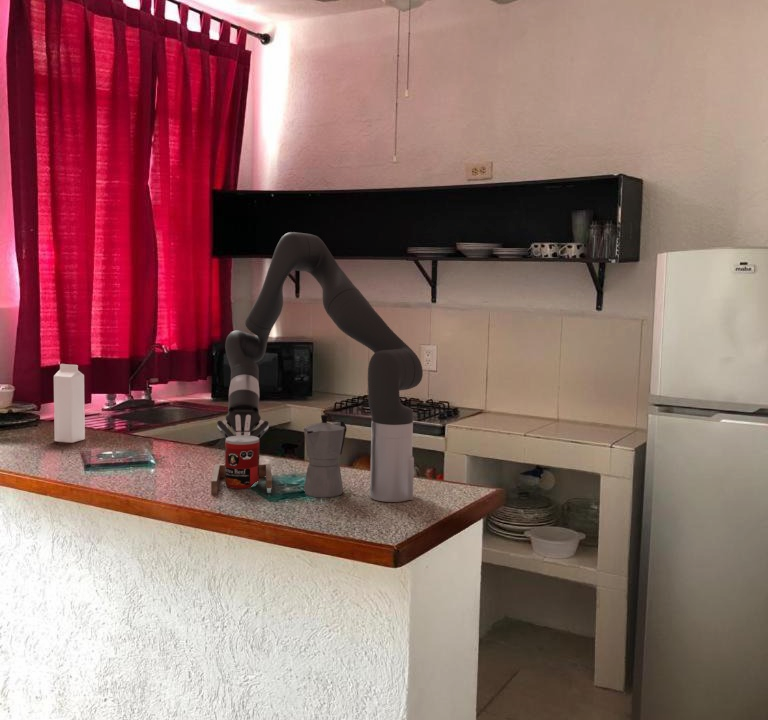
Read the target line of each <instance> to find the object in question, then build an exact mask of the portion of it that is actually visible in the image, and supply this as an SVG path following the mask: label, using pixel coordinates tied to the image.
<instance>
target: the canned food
mask: <svg viewBox="0 0 768 720" xmlns="http://www.w3.org/2000/svg"><path fill="white" fill-rule="evenodd" d="M224 442H225V444H224V452H225V454H224V455H225V456H224V464H225V477H224V483H225V486H226V487H228V488H230V489H237V490H241V489H251V488H250V487H251V486H252V485H253V484H254V483H255V482H257V481H259V482H260V477H259V464H260V438H258V437H255V436H251V435H250V436H248V435H244V434H241V435H239V436H236V435H235V436H231V437H228V438H225V441H224Z"/></svg>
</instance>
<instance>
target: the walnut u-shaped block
mask: <svg viewBox="0 0 768 720" xmlns="http://www.w3.org/2000/svg"><path fill="white" fill-rule="evenodd" d="M264 476H266V477H264ZM220 478H225V463H215V464H214V467H213V471H212V476H211V481H210V488H211V489H210V491H211V492H210V494H211V495H217V494H218V489H219V482H220ZM259 478H265V489H266V488H272V489H273V477H272V465H271V463H259Z"/></svg>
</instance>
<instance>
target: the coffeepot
mask: <svg viewBox="0 0 768 720" xmlns="http://www.w3.org/2000/svg"><path fill="white" fill-rule="evenodd" d="M320 417H321V418H320V419H321V422H317V423H313V424H309V425H307V424H306V426H305V427H303V433H304V440H305V446H306V448H305V449H306V455H307V457H308V458H309V459H308V465H307V469H306V475H305V480H304V485H303V490H305V493H304V494H305V495H306V496H309V497H312V498H335V497H339V496H341V495H342V494H343V491H344V487H343V479H342V473H341V466H340V464H339V458H340V457H341V455H342V453H343V448H344V445H345V444H344V443H345V439H346V433H347V425H346V423H345V422H344V420H338V421H335V422H331V423H330V422H328V418H329V415H328V414H326V413H325V414H321V415H320Z"/></svg>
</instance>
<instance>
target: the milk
mask: <svg viewBox="0 0 768 720" xmlns="http://www.w3.org/2000/svg"><path fill="white" fill-rule="evenodd" d="M78 368H79V365H77V364H66V363H60V364H59V370H58V371H57V372H56V373H55V374H54V375H53V407H54V408H53V415H54V416H53V417H54V418H53V419H54V422H53V423H54V425H53V427H54V442H59V443H69V444H70V443H71V444H72V443H73V444H74V443H76V442H79V441H84V440H85V439H86V429H85V428H86V427H85V426H86V424H85V422H86V421H85V420H86V419H85V418H86V417H85V413H86V412H85V409H86V408H85V406H86V405H85V374H84V373H82V371H80V370H79V369H78Z"/></svg>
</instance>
